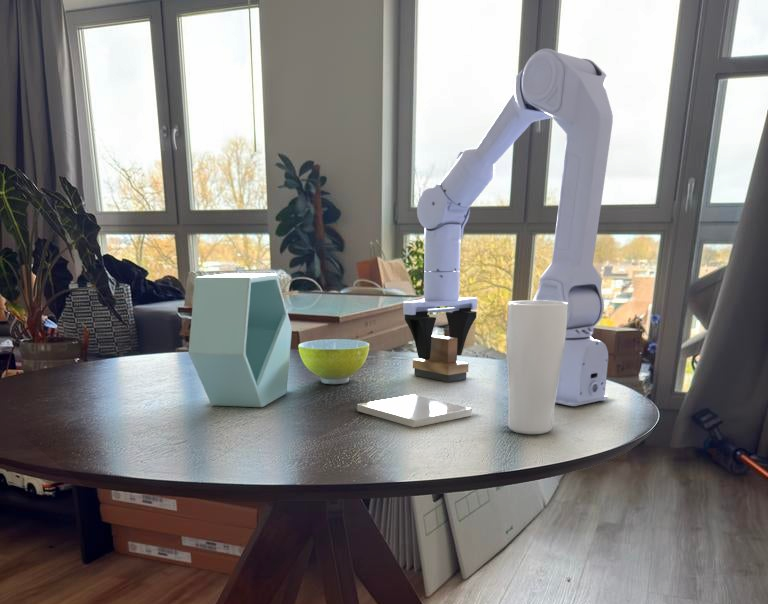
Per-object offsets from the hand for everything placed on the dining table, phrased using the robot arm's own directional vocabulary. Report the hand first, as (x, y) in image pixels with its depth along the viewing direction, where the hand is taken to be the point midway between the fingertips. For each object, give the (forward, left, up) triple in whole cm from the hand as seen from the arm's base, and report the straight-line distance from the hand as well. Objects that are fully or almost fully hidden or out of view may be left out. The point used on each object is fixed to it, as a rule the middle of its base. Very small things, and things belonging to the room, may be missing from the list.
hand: (440, 356), depth 121 cm
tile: (-18, +21, -3) cm, 28 cm away
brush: (0, 0, -3) cm, 3 cm away
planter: (+4, +34, -4) cm, 34 cm away
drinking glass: (-34, +16, -4) cm, 38 cm away
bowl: (+8, +16, -4) cm, 18 cm away
